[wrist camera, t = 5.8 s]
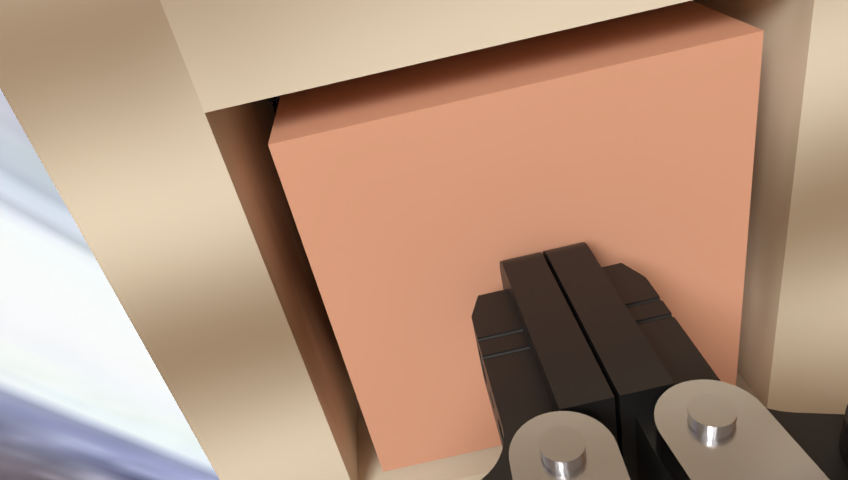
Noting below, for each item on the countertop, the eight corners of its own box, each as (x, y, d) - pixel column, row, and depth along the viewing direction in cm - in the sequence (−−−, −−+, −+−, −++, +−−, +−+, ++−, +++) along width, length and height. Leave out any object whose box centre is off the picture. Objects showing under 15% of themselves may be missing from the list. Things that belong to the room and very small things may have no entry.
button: (656, 284, 17) (735, 392, 14) (374, 348, 17) (383, 472, 14) (653, -16, 13) (763, 30, 10) (287, 69, 13) (267, 145, 10)
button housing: (741, 397, 21) (844, 536, 17) (322, 492, 21) (317, 654, 17) (816, -461, 11) (1135, -673, 6) (-11, -265, 11) (-243, -345, 6)
